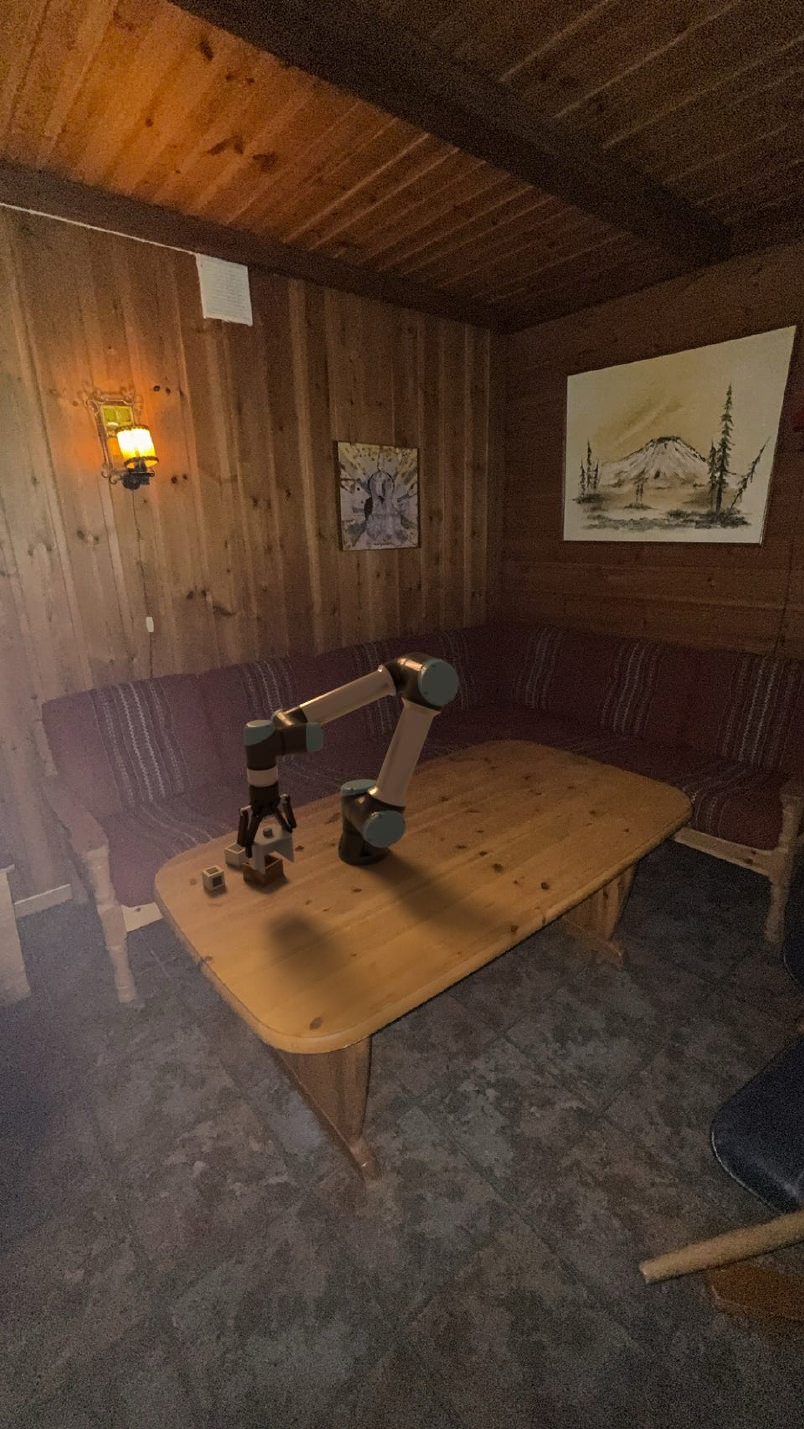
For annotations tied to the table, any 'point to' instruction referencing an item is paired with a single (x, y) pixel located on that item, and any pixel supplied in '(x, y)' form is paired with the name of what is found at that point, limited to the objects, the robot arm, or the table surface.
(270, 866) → the walnut bin
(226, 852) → the beige tub
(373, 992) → the table surface
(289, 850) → the cover
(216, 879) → the cream boxy hollow piece
